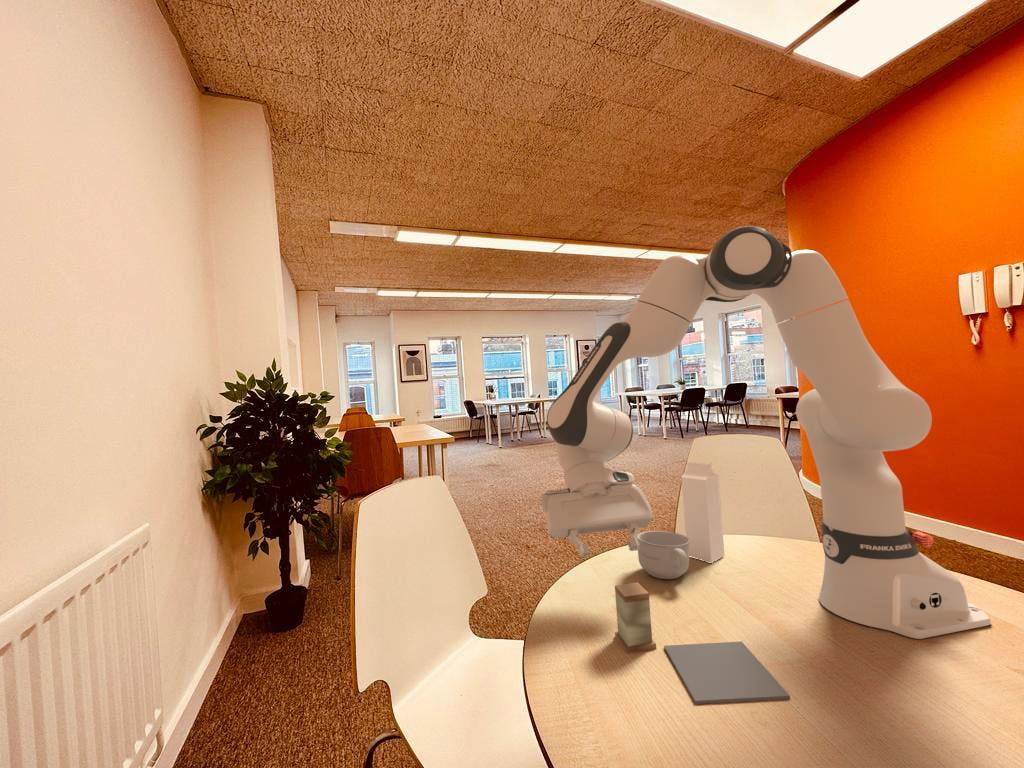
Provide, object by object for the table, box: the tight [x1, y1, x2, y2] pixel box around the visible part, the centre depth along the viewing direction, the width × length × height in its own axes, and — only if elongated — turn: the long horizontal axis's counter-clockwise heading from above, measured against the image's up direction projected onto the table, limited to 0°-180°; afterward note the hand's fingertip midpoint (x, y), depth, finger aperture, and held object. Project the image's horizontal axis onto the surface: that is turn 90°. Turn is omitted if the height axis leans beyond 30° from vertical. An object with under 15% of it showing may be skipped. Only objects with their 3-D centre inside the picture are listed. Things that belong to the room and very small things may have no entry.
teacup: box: [637, 530, 690, 580], centre depth 92 cm, size 14×11×8 cm
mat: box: [663, 641, 791, 705], centre depth 61 cm, size 12×12×1 cm
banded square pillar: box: [614, 581, 657, 654], centre depth 69 cm, size 5×5×8 cm
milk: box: [681, 461, 726, 564], centre depth 101 cm, size 6×6×22 cm
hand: (610, 552), depth 78 cm, fingers open, 8 cm apart
